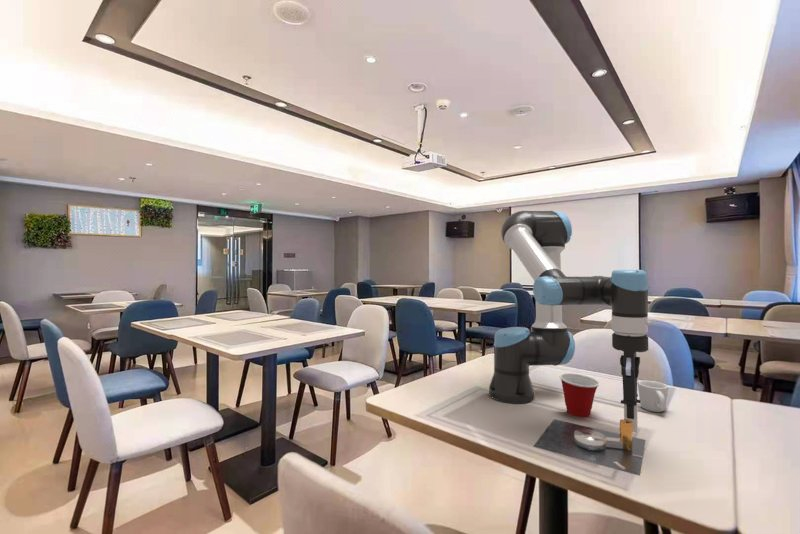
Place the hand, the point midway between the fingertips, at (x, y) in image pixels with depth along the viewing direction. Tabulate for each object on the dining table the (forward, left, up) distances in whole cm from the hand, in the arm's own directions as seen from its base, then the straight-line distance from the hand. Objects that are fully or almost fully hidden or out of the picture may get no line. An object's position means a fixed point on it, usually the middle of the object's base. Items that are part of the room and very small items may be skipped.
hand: (630, 430), depth 93 cm
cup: (+4, +35, -6) cm, 36 cm away
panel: (-8, -4, -5) cm, 11 cm away
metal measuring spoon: (-6, -4, -4) cm, 8 cm away
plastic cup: (-14, +15, -6) cm, 22 cm away
